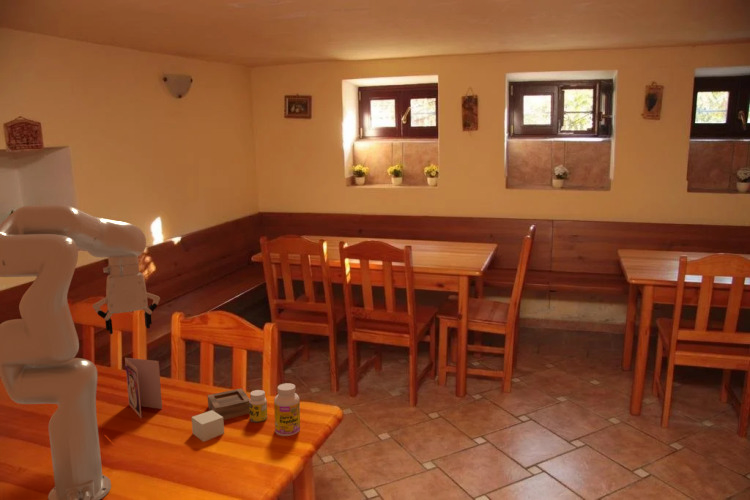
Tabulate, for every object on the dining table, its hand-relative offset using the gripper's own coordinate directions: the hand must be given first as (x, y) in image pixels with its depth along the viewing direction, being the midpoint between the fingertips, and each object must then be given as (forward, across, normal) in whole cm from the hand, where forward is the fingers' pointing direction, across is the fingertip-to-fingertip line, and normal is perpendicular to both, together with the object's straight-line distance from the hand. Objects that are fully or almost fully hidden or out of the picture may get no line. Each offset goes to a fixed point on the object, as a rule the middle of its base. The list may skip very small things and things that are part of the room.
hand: (129, 329), depth 166 cm
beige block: (+25, +15, -23) cm, 37 cm away
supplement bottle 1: (+25, +29, -22) cm, 44 cm away
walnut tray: (+25, +23, -13) cm, 37 cm away
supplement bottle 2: (+25, +33, -33) cm, 53 cm away
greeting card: (+25, +3, +2) cm, 25 cm away
